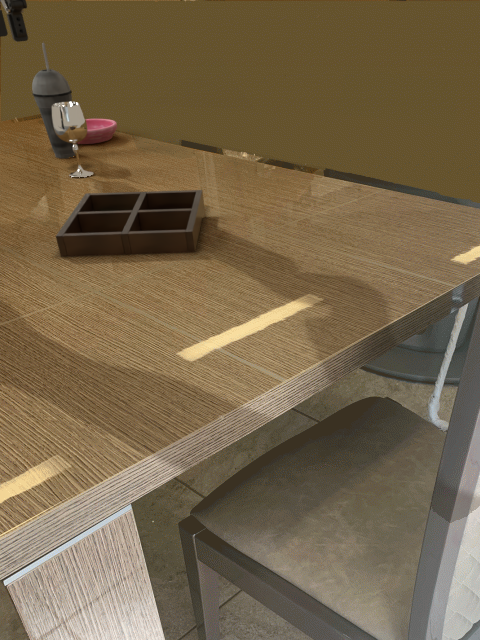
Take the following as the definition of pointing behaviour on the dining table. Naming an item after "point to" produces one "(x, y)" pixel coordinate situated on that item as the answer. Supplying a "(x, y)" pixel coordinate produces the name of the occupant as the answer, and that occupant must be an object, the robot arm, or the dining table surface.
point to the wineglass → (71, 129)
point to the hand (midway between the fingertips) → (11, 38)
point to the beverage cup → (46, 93)
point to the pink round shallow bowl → (99, 131)
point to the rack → (133, 223)
